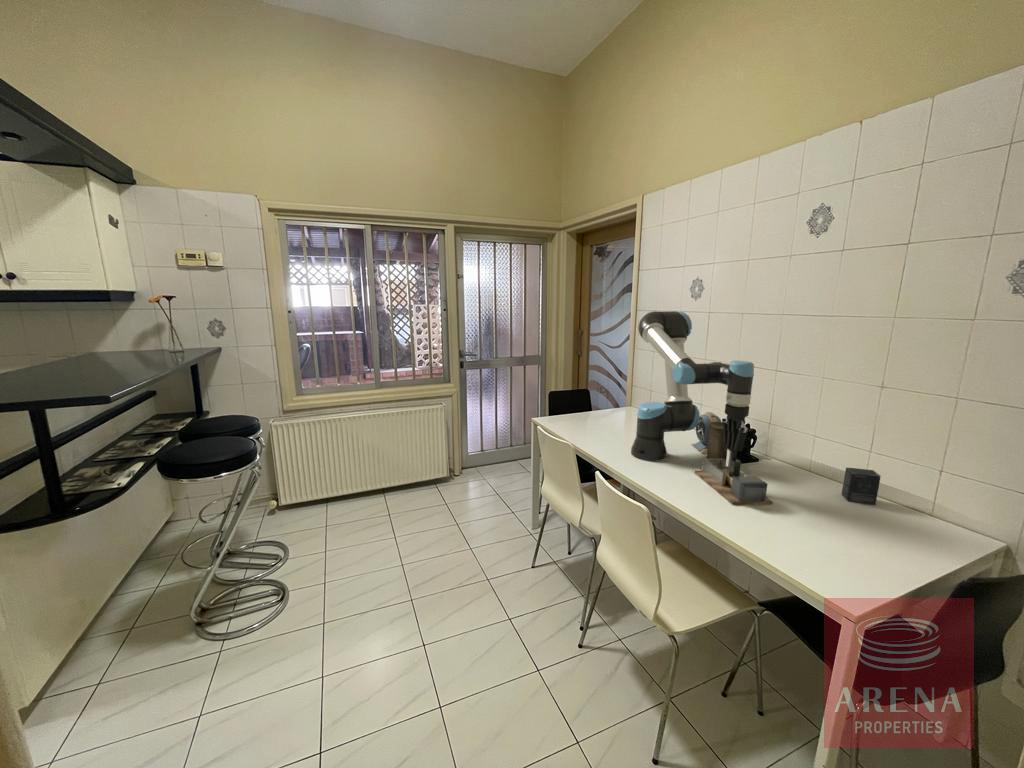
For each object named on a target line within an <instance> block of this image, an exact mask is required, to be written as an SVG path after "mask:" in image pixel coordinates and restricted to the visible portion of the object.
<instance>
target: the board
mask: <svg viewBox="0 0 1024 768" xmlns="http://www.w3.org/2000/svg"><path fill="white" fill-rule="evenodd" d="M694 474H695V475H696V476H698V478H700V479H701V480H702V481H703V482H705V483H706V484H707V485H708V486H709V487H710V488H712V489H713V490H714V491H715V492H716V493H718V494H719V496H721V497H723V499H725V500H726V501H727V502H728V503H729V504H731V505H732V506H739V505H741V506H742V505H773V504H774V502H773V500H772V499H770V498H769V497H768V496H766V499H765V502H740V501H739V500H738V499H736V498H735V497H734V496H733V495H731V494H730V492H731V486H730V485H729V484H727V483H726V482H725V486H721V485H720V484H718V483H717V482H716V481H715V480H713V479H712V478H711V477H710V476H708V475H707V474H706V473H705V472H703V471H702V470H701V469H700V470H694Z"/></svg>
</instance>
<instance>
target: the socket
mask: <svg viewBox="0 0 1024 768" xmlns="http://www.w3.org/2000/svg"><path fill="white" fill-rule="evenodd" d="M767 490H768V482H766V481H764V480H763V479H761V478H760V477H758V476H757V475H744V476H732V484H731V492H730V494H731V495H733V496H734V497H735V498H736V499H738V500H739V501H740V502H765V499H766V497H767Z"/></svg>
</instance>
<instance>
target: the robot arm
mask: <svg viewBox="0 0 1024 768" xmlns="http://www.w3.org/2000/svg"><path fill="white" fill-rule="evenodd" d="M692 329H693V325H692V320H691V318H690V316H689V314H687V313H686V312H684V311H678V310H674V311H673V310H672V311H649V312H647V313H646V314H644V315H643V316H642V317H641V319H640V321H639V323H638V333H639V336H640V337H641V339H642V340H643V341H644V342H645V343H649V344H650V345H651V346H652V347H653V349H654V350H655V351H656V353H658V354H659V355H660V356H661V357H662V358H663V360H664V368H665V369H664V370H665V381H666V382H665V383H666V396H667V398H666V400H664V402H662V401H661V402H660V401H648V402H644V403H642V404H640V405H639V406H638V409H637V414H636V416H637V419H636V432H635V433H636V435H635V438H634V441H633V443H632V446H631V448H630V454H631V455H632V456H633V457H634V458H637V459H640V460H645V461H650V462H656V461H658V462H659V461H664V460H665V459H666V458H667V456H668V455H667V454H668V452H667V451H668V450H667V447H666V443H665V433H669V432H670V433H672V432H686V431H692V430H694V429H696V425H697V424H698V422H699V417H700V416H701V415H700V409H698V407H697V406H696V405H695V404H694V403H693V400H692V399H691V398H690V397H689V392H688V385H700V384H704V385H705V384H706V385H707V384H722V385H725V386H727V389H726V395H725V397H726V399H725V402H726V404H725V405H724V407H725V408H724V414H725V415H726V418H722V420H721V422H723V435H724V445H726V447H727V458H726V466H727V467H730V461H731V459H737V456H738V452H741V451H743V448H744V444H745V441H746V438H747V435H748V433H749V431H750V427H746V418H747V417H748V416H749V414H750V413H749V412H750V406H749V405H751V399H752V389H753V380H754V375H755V373H754V372H755V364H754V362H752V361H747V360H732V361H730V363H729V364H728V363H724V362H720V361H711V362H708V363H696V362H695V361H694V360H693V359H692V358H691V357H690V356H689V355H688V354H687V353H686V352H685V346H684V345H685V343H686V342H687V341H688V337H689V336H690V335H691V334H692V333H691V332H692Z"/></svg>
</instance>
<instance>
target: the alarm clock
mask: <svg viewBox="0 0 1024 768" xmlns="http://www.w3.org/2000/svg"><path fill="white" fill-rule="evenodd" d="M711 422H722V420H721V418H720V417H719V416H718V415H716V414H715V413H714V412H712V411H711V412H710V411H707V412H705V413H703V414H701V415H700V417H699V422H698V424H697V425H696V427H695V434H696V437H697V440H698V442H694V443H691V444H690V445H691V446H692V447H693V448H694V449H695V450H696V451H698V452H699V453H700V454H701V455H707V451H708V444H709V435H710V434H709V433H710V425H709V424H710V423H711Z"/></svg>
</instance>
